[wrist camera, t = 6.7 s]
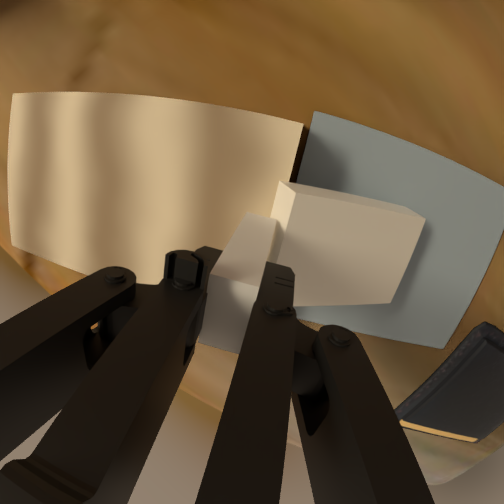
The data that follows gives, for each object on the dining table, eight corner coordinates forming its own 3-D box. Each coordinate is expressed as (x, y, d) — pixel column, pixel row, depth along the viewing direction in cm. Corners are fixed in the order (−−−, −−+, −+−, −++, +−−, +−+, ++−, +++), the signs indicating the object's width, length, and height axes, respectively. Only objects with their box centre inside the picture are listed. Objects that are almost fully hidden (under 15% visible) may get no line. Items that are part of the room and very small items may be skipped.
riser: (302, 124, 18) (303, 123, 14) (258, 293, 23) (250, 326, 19) (47, 92, 18) (12, 93, 15) (41, 228, 23) (11, 245, 20)
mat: (513, 192, 17) (516, 194, 16) (441, 346, 22) (442, 349, 22) (314, 110, 17) (314, 110, 17) (261, 306, 23) (261, 309, 23)
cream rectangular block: (405, 206, 18) (426, 218, 17) (373, 286, 21) (390, 303, 19) (279, 180, 15) (296, 192, 13) (252, 285, 18) (263, 306, 16)
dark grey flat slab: (557, 376, 21) (474, 452, 27) (551, 367, 22) (471, 442, 29) (492, 321, 19) (379, 429, 26) (482, 309, 21) (376, 415, 27)
